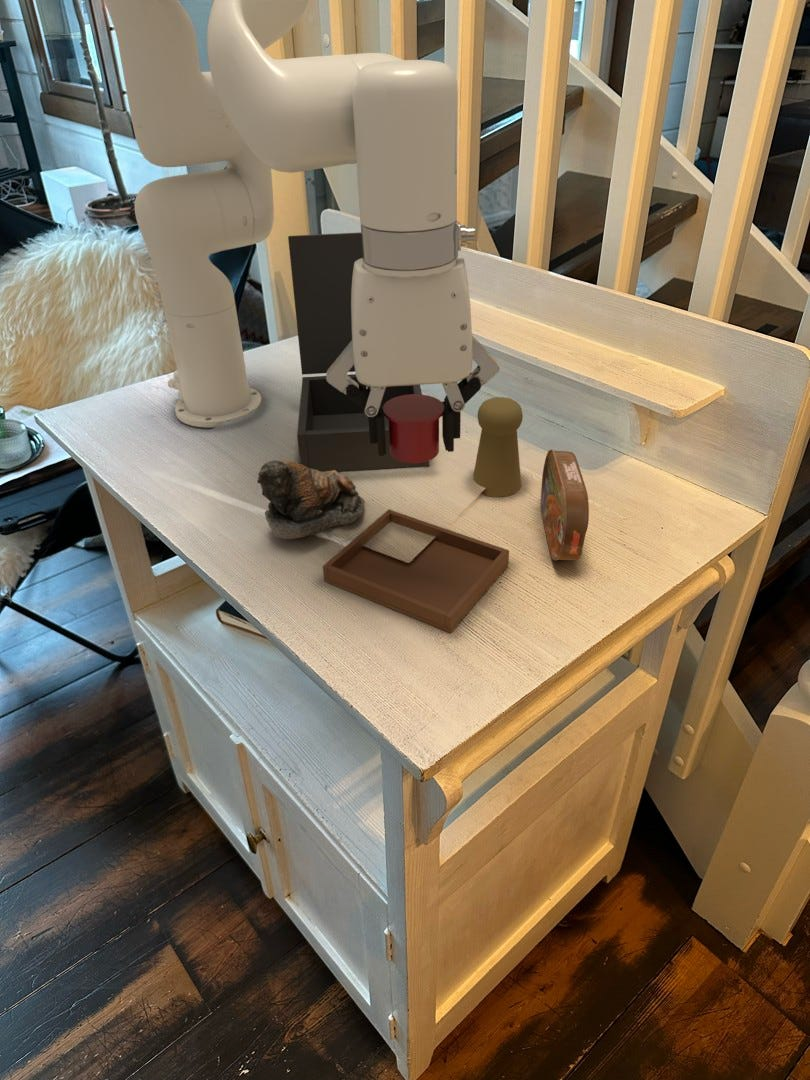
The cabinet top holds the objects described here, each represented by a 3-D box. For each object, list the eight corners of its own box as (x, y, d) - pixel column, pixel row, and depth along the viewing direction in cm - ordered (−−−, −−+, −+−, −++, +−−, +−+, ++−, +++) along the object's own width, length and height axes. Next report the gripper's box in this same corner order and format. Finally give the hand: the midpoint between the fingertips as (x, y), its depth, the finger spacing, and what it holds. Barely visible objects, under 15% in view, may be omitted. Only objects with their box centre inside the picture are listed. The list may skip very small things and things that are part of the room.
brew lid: (412, 230, 97) (409, 227, 102) (287, 236, 97) (290, 233, 102) (417, 368, 105) (414, 359, 110) (301, 374, 104) (304, 365, 109)
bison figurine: (347, 498, 92) (340, 424, 86) (378, 525, 87) (374, 448, 81) (257, 533, 86) (243, 456, 80) (285, 563, 81) (273, 484, 76)
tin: (538, 498, 90) (543, 435, 86) (564, 497, 90) (571, 435, 85) (554, 577, 78) (561, 509, 73) (584, 577, 78) (594, 509, 73)
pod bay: (429, 473, 96) (428, 427, 92) (302, 480, 95) (297, 434, 91) (418, 412, 110) (417, 370, 106) (307, 419, 109) (302, 377, 105)
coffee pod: (372, 456, 70) (370, 412, 68) (405, 431, 74) (404, 389, 71) (424, 472, 68) (424, 427, 65) (455, 445, 72) (455, 402, 69)
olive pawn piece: (519, 499, 90) (525, 415, 84) (469, 494, 91) (471, 412, 85) (523, 473, 95) (529, 392, 89) (475, 469, 96) (477, 389, 90)
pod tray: (324, 581, 79) (322, 566, 78) (389, 523, 87) (388, 509, 86) (450, 633, 72) (450, 617, 71) (508, 565, 80) (509, 550, 79)
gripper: (508, 228, 63) (499, 423, 74) (302, 238, 63) (323, 433, 73) (526, 252, 57) (513, 461, 68) (298, 264, 57) (321, 473, 67)
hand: (414, 445), depth 70 cm, fingers closed on coffee pod, 5 cm apart
